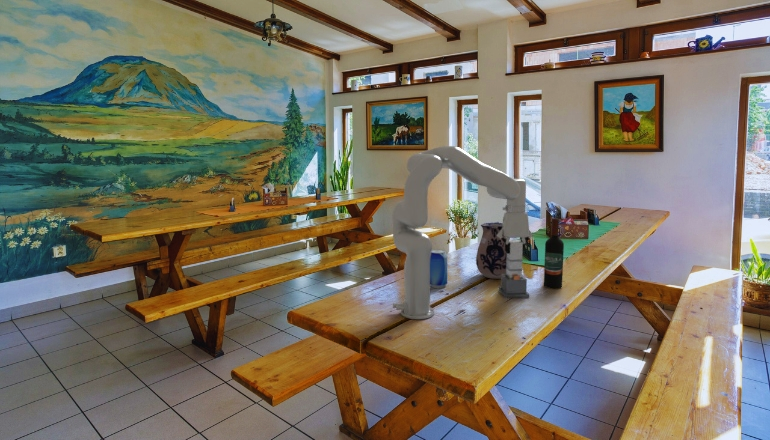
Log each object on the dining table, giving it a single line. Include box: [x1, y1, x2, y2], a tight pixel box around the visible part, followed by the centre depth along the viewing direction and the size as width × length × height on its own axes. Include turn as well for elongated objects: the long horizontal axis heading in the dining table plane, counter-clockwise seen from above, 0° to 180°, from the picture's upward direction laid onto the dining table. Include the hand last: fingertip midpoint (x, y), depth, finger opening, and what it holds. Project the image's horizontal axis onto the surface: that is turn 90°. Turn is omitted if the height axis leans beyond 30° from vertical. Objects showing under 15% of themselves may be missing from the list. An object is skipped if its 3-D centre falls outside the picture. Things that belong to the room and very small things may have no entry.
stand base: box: [498, 274, 530, 299], centre depth 193 cm, size 10×10×9 cm
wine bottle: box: [543, 217, 565, 290], centre depth 200 cm, size 8×8×30 cm
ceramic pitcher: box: [475, 221, 507, 280], centre depth 218 cm, size 18×21×25 cm
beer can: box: [430, 248, 448, 289], centre depth 206 cm, size 8×8×16 cm
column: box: [506, 239, 524, 279], centre depth 191 cm, size 5×5×18 cm
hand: (514, 252), depth 191 cm, fingers closed on column, 5 cm apart
